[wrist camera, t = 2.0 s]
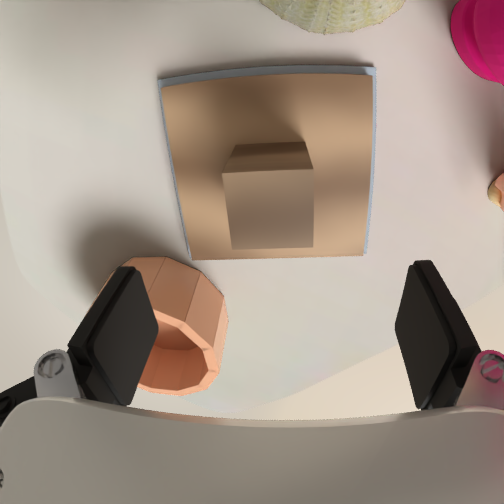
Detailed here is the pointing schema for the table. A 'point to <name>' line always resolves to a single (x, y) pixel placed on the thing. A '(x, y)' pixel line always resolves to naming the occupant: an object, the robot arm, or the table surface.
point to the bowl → (181, 327)
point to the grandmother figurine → (497, 191)
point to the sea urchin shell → (333, 13)
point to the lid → (272, 164)
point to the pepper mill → (480, 36)
